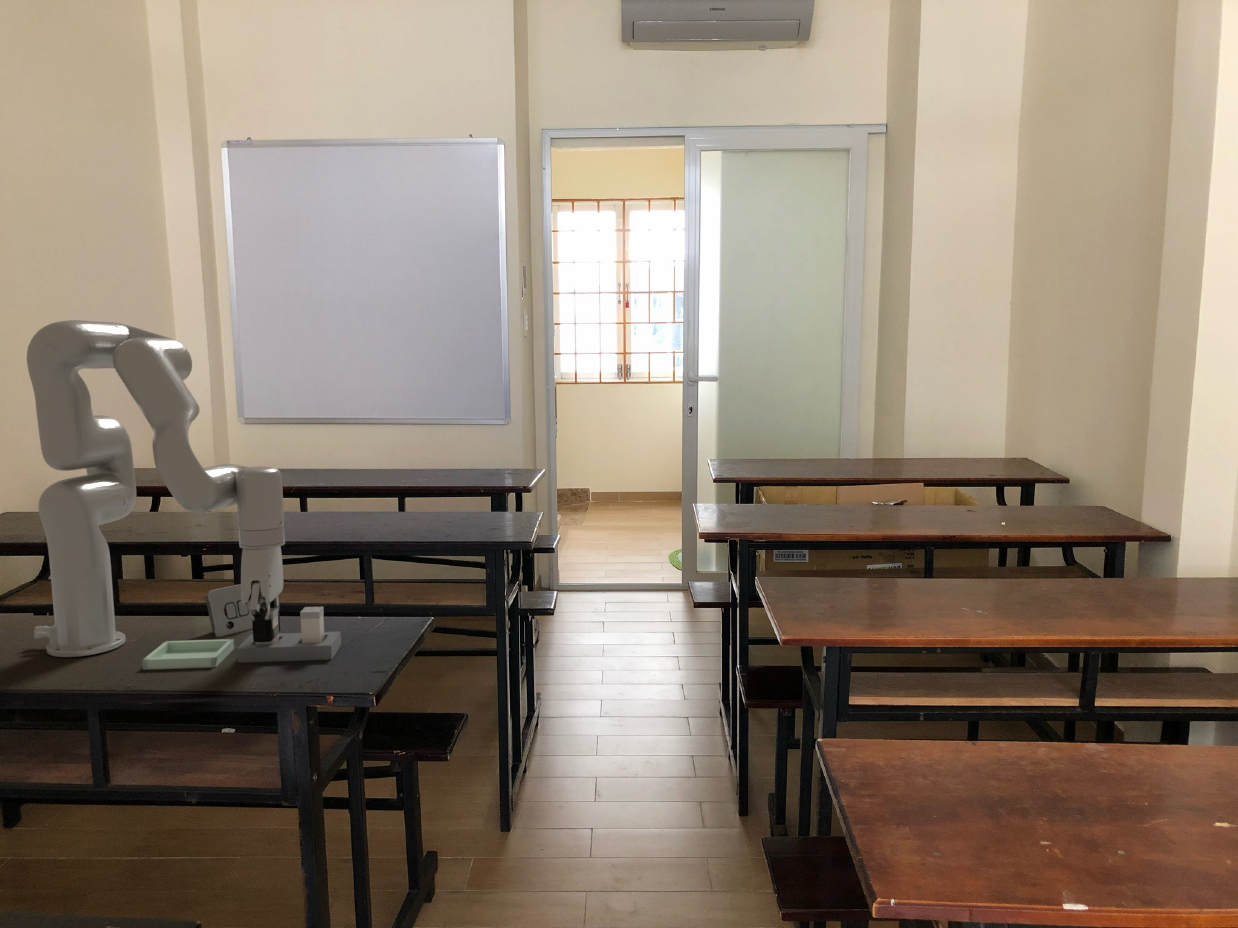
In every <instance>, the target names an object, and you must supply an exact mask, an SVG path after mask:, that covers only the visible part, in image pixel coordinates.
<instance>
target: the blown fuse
mask: <svg viewBox="0 0 1238 928" xmlns="http://www.w3.org/2000/svg"><path fill="white" fill-rule="evenodd" d="M263 609H264V611H265V608H263ZM270 619H272V632H273V640H272V641H271V642H255V645H263V644H277V643H278V642H279V633H280V632H279V623H278V608H270Z"/></svg>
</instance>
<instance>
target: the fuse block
mask: <svg viewBox="0 0 1238 928" xmlns="http://www.w3.org/2000/svg"><path fill="white" fill-rule="evenodd" d="M341 646H342V634H341V631H324V642H323V643H302V634H301V632H286V633H285V632H284V633H283V632H279V642H278V643H277V644H263V645H255V642H254V641H253V633H251V634H250V635H249V636H248V637H247V638H246V639H245V640H244V641H243V642H242V643H241V644H240V645H239V646H238V647H237V648H236V655H237V663H238V664H239V663H240V664H241V663H263V662H264V663H265V662H267V663H269V662H270V663H271V662H295V661H296V662H297V661H300V662H301V661H321V660H323V661H325V660H333V658H334V656H336V653H338V651H339V649H340V647H341Z"/></svg>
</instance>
